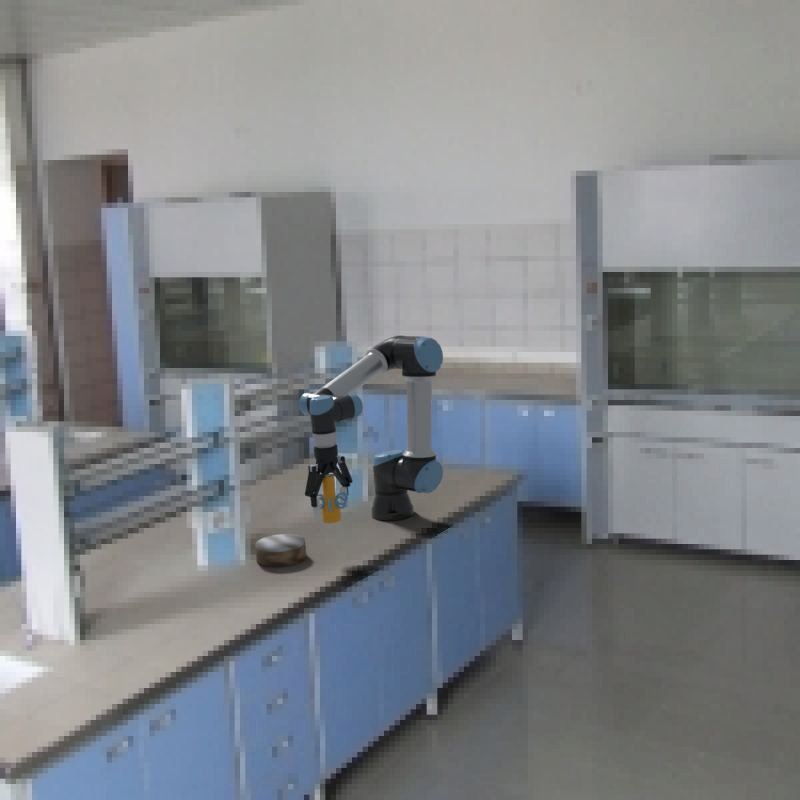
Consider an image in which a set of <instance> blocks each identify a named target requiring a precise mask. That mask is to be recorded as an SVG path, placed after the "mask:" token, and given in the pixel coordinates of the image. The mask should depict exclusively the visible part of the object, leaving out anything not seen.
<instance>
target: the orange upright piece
mask: <svg viewBox="0 0 800 800" xmlns="http://www.w3.org/2000/svg"><path fill="white" fill-rule="evenodd" d="M321 487H322V493H318V495H317V496H318V497H319V499H320V501H321V503H320V510H321V518H322V519H321V520H322V522H323V523H325V524H334V523H339V522H341V520H342V515H341V513H342V512H341V509H344V508H346V507H345V506H346V502H347V500H348V501H349V498H348V496H349V495H348V496H347V494H346V493H344V492H340V491H339V492H338V493H337V492H336V481H335V476H334V474H333V473H329V474H327V475H326V476H325V478H324V479H323V481H322V484H321ZM340 495H344V496H345V498H344V497H343V496H340ZM340 498H341V499H342V500H343V501H344V502H342V503H341V501H340V500H339V499H340ZM341 505H343V506H341Z"/></svg>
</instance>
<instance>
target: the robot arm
mask: <svg viewBox="0 0 800 800" xmlns="http://www.w3.org/2000/svg"><path fill="white" fill-rule="evenodd" d="M443 353H444V352H443V350H442V346H441V344H440V343H438V340H436V339H434V338H432V337H429V336H428V337H427V336H414V335H413V336H411V335H395V336H391V337H389V338H386V339H384V340H383V341H380V342H379V343H377V344H375V345H374V346H373V347H372V348H370V349H369V350H367V351H366V353H365V356H364V357H362V358H361V359H359V360H358V361H357V362H356V363H354V364H352V365H351V366H350V367H348V368H347V369H346V370H343V372H341V373H340V374H338V376H335V377H334V378H333V379H332V380H331V381H329V382H328V383H326V384H324V385H323V386H322V387H321V388H320V389H318V390H316V391H315V392H311V391H310V392H305V393H303V394H302V395H301V397H299V400H298V406H299V410H300V411H301V413H302V414H303V415H306V416H310V423H311V432H312V444H313V457H314V459H315V464H309V465H308V467H307V468H308V469H307V470H308V475H307V480H306V486H305V491H304V496H305V497H309V498H310V505H311V508H312V511H313V512H312V513H313V517H317V518H322V509H320V507H321V506H320V504H321V500H320V499H319V497H320V496H317V495H318V494H319V492H320V489H321V487H322V481H323V479H324V478H325V476H326V475H327V474H334V478H336V480H337V482H339V484H340V486H339V493H340V492H344V493H346V494H347V496H349V487H351V484H352V483H353V478H352V476H351V472H350V471H349V468H348V466H347V462H346V457H345V456H343V455H339V450H338V444H337V443H338V438H337V429H336V428H337V427H336V424H338V423H341V422H344V421H347V420H351V419H352V420H353V419H354V418H356V417H357V418H358V417H359V416H360V415H361V414H362V412H363V410H364V405H363V401H362V398H361V397H360V396H358V395H357V394H354V392H356V391H357V390H358V389H359V388H361V387H363V386H364V385H365V384H367V383H368V382H369V381H371V380H372V379H373V378H375V377H376V376H377V375H383V374H385V373H386V372H388V371H390V370H401V375H402V376H401V377H403V379H404V380H405V381H406V449H405V450H403V449H393V450H386V451H383V452H379V453H376V454H375V455H374V456H373V459H372V464H373V465H372V469H373V470H372V472H373V483H374V492H375V493H374V499H373V503H372V507H371V517H372V518H373V519H374V520H379V521H398V520H399V521H401V520H403V519H407V518H410V517H412V516H413V515H414V514H415V513H414V505H413V504H412V500H411V497H410V494H409V492H416V493H418V494H422V493H423V494H431V493H434V491H436V490H437V489H438V487H439V485H441V482H442V480H443V476H444V468H443V466H442V463H441V462H440V461H438V460H437V453H436V452H435V450H433V449H432V447H433V446H432V445H433V444H432V443H433V442H432V438H433V437H432V433H433V431H432V430H433V429H432V426H433V425H432V381H433V379H435V378H436V377H437V372H438V371H439V370H440V369H441V367H442V366H441V365H442V364H443V361H444V354H443ZM337 465H338V466H337ZM408 491H409V492H408ZM339 496H343V497H344V498H345V496H344V495H339ZM339 499H340V500H339V502H340V503H342V502H344V501H343V500H342V499H341V498H339ZM340 506H343V505H340ZM347 507H349V499H348V500H347V502H346V506H345V508H347Z"/></svg>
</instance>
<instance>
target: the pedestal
mask: <svg viewBox="0 0 800 800" xmlns="http://www.w3.org/2000/svg"><path fill="white" fill-rule="evenodd" d="M254 547H255V557H256V564H258V565H260V566H262V567H266V568H284V567H285V568H286V567H289V566H290V567H291V566H294V565H298V564H300V563H302V562H304V560H306V558H307V549H306V548H307V547H306V538H305V537H304V536H302V535H299V534H293V533H281V534H272V535H269V536H265V537H262V538H260V539H258V540H257V541H256V542H255V544H254Z"/></svg>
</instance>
